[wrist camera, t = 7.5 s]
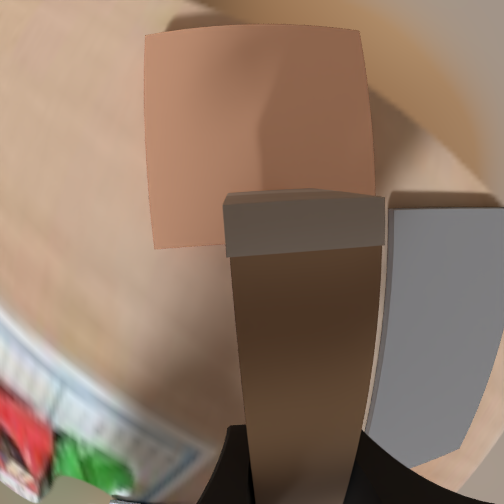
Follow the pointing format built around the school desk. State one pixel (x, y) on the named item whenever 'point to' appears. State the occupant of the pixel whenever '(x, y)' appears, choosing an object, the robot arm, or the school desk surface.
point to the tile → (250, 120)
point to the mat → (437, 328)
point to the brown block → (304, 333)
